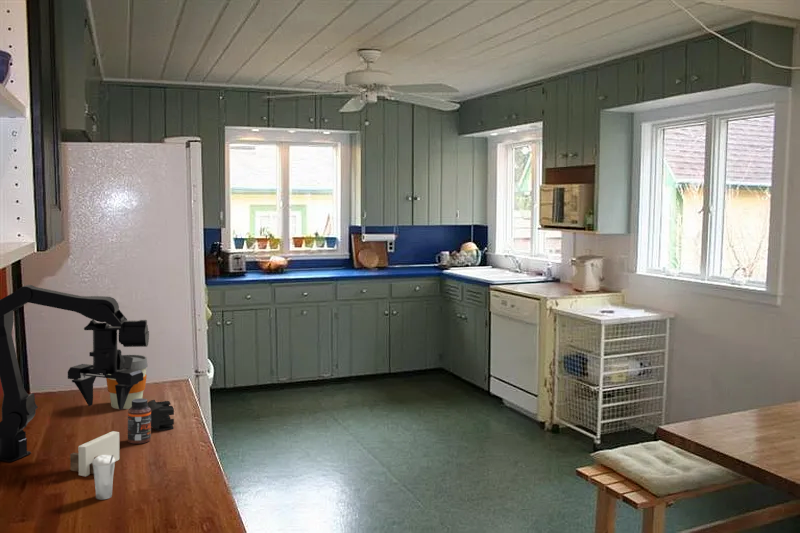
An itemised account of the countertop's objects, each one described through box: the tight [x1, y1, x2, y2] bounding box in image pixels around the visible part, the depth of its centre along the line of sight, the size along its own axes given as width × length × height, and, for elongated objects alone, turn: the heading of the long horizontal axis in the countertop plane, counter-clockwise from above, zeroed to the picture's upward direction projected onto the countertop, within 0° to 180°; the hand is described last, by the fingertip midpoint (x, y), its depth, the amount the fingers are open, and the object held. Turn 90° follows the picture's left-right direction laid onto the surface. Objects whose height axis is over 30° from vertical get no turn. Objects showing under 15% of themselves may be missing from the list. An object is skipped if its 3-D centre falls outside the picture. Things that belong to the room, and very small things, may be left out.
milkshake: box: [92, 455, 116, 501], centre depth 154 cm, size 4×5×10 cm
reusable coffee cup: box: [105, 354, 148, 410], centre depth 224 cm, size 13×13×15 cm
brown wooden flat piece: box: [69, 452, 98, 475], centre depth 168 cm, size 10×1×4 cm, turn 74°
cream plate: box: [77, 430, 120, 477], centre depth 171 cm, size 12×2×7 cm, turn 164°
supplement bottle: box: [127, 397, 152, 445], centre depth 191 cm, size 6×6×11 cm
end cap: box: [147, 399, 175, 432], centre depth 204 cm, size 10×7×7 cm
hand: (105, 407), depth 180 cm, fingers open, 9 cm apart
